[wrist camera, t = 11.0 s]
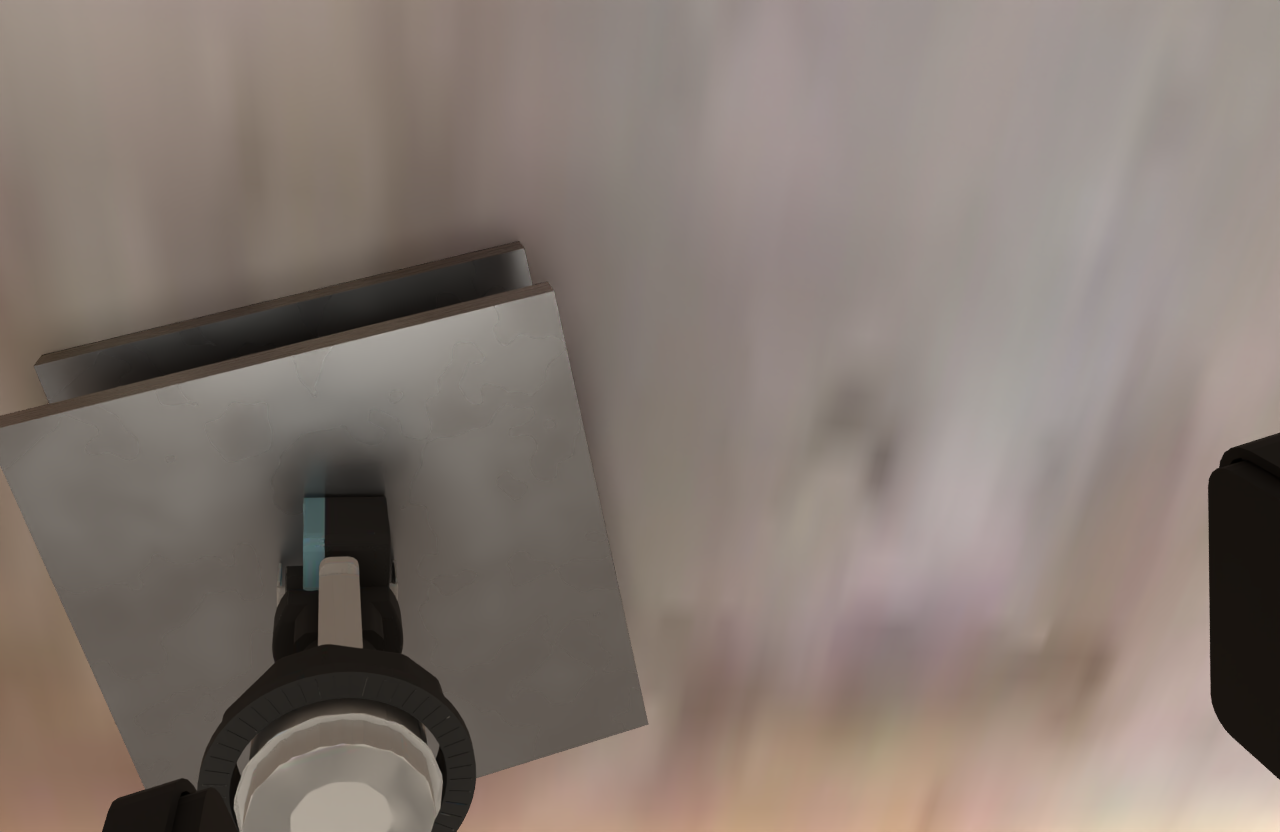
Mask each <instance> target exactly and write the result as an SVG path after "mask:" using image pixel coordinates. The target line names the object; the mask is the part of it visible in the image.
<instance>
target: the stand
mask: <svg viewBox="0 0 1280 832" xmlns="http://www.w3.org/2000/svg"><path fill="white" fill-rule="evenodd" d="M34 368H35V370H36V373H37V375H38V377H39V380H40V382H41V385H42V387H43V389H44V392H45V394H46V396H47V399H48V401H49V404H46V405H42V406H38V407H34V408H30V409H26V410H22V411H18V412H14V413H10V414H6V415H2V416H0V466H1V468H2V470H3V473H4V475H5V477H6V479H7V482H8V484H9V486H10V488H11V491H12V493H13V495H14V497H15V499H16V502H17V504H18V506H19V508H20V511H21V513H22V515H23V517H24V520H25V522H26V524H27V526H28V528H29V531H30V533H31V535H32V537H33V540H34V542H35V544H36V546H37V549H38V551H39V553H40V555H41V557H42V560H43V562H44V564H45V566H46V569H47V571H48V573H49V575H50V578H51V580H52V582H53V584H54V587H55V589H56V591H57V593H58V595H59V598H60V600H61V602H62V604H63V607H64V609H65V611H66V613H67V616H68V618H69V620H70V622H71V624H72V627H73V629H74V631H75V633H76V636H77V638H78V640H79V642H80V645H81V647H82V649H83V651H84V653H85V656H86V658H87V660H88V662H89V665H90V667H91V669H92V671H93V674H94V676H95V678H96V680H97V683H98V685H99V687H100V689H101V691H102V694H103V696H104V698H105V700H106V703H107V705H108V707H109V709H110V712H111V714H112V716H113V718H114V720H115V723H116V725H117V727H118V729H119V732H120V734H121V736H122V738H123V741H124V743H125V745H126V747H127V749H128V752H129V754H130V756H131V758H132V761H133V763H134V765H135V767H136V770H137V772H138V774H139V776H140V779H141V781H142V783H143V785H144V787H145V789H149V788H152V787H155V786H158V785H161V784H164V783H168V782H171V781H174V780H177V779H180V778H184V779H188V780H189V781H190V782H191V783H192V784H193V785H194V787H195V788H196V790H197V785H198V778H199V772H200V767H201V762H202V758H203V756H204V753H205V750H206V747H207V745H208V743H209V741H210V739H211V737H212V735H213V734H214V732H215V731H216V729H217V727H218V726H219V724H220V723H221V722H222V718H223V715H224V713H225V711H226V710H227V709H228V708H229V707H230V706H231V705H232V704H233V703H234V702H235V701H236V700H237V699H238V698H239V697H240V696H241V695H242V694H243V693H244V692H245V691H246V690H247V689H248V688H249V687H250V686H251V685H252V684H253V683H255V682H256V681H257V680H258V679H259V678H260V677H261V676H262V675H263V674H264V673H265V672H266V671H267V670H268V669H269V668H270V667H271V666H272V665H273V664H274V663H275V662H274V659H273V653H272V639H273V627H274V617H275V613H276V609H277V577H278V565H279V563H282V587H285V573H286V566H303V530H304V524H303V500H304V498H326V497H386V499H387V508H388V517H389V526H390V538H391V550H390V583H392V561H393V560H396V569H397V578H398V580H397V582H398V603H399V607H400V611H401V619H402V628H403V650H402V653H401V654H404V655H406V656H408V657H409V658H410V659H412V660H413V661H414V662H416V663H417V664H418V665H420V666H421V667H423V668H424V669H425V670H427V671H428V672H429V673H431V674H432V675H433V676H435V677H436V678H437V679H438V681H439V683H440V685H441V688H442V691H443V694H444V696H445V697H446V698H447V699H448V700H449V701H450V702H451V703H452V705H453V706H454V707H455V708H456V710H457V711H458V712H459V714H460V716H461V717H462V719H463V720H464V722H465V725H466V727H467V729H468V731H469V734H470V737H471V741H472V745H473V750H474V756H475V762H476V778H478V777H482V776H485V775H488V774H491V773H494V772H498V771H501V770H504V769H507V768H510V767H514V766H517V765H520V764H523V763H526V762H530V761H533V760H536V759H539V758H542V757H546V756H549V755H552V754H555V753H558V752H562V751H565V750H568V749H571V748H574V747H578V746H581V745H584V744H587V743H590V742H593V741H597V740H600V739H603V738H606V737H609V736H613V735H616V734H619V733H622V732H625V731H629V730H632V729H635V728H638V727H641V726H645V725H648V720H647V716H646V711H645V707H644V702H643V697H642V693H641V688H640V684H639V679H638V674H637V670H636V665H635V661H634V656H633V652H632V647H631V642H630V638H629V633H628V629H627V624H626V619H625V615H624V610H623V606H622V601H621V596H620V592H619V587H618V583H617V578H616V573H615V569H614V564H613V560H612V555H611V550H610V546H609V541H608V537H607V532H606V527H605V523H604V518H603V514H602V509H601V504H600V500H599V495H598V491H597V486H596V481H595V477H594V472H593V468H592V463H591V458H590V454H589V449H588V445H587V440H586V435H585V431H584V426H583V422H582V417H581V412H580V408H579V403H578V399H577V394H576V389H575V385H574V380H573V376H572V371H571V366H570V362H569V357H568V353H567V348H566V343H565V339H564V334H563V330H562V325H561V320H560V316H559V311H558V307H557V302H556V298H555V293H554V290H553V289H552V287H551V286H550V284H549V283H548V282H543V283H539V284H535V285H532V281H531V276H530V272H529V267H528V263H527V258H526V254H525V250H524V247H523V246H522V244H521V243H520V242H519V241H518V242H513V243H509V244H505V245H501V246H497V247H493V248H488V249H484V250H480V251H476V252H472V253H467V254H463V255H459V256H455V257H451V258H446V259H442V260H438V261H434V262H430V263H426V264H421V265H417V266H413V267H409V268H405V269H400V270H396V271H392V272H388V273H384V274H380V275H375V276H371V277H367V278H363V279H359V280H354V281H350V282H346V283H342V284H338V285H333V286H329V287H325V288H321V289H317V290H313V291H308V292H304V293H300V294H296V295H292V296H287V297H283V298H279V299H275V300H271V301H266V302H262V303H258V304H254V305H250V306H246V307H241V308H237V309H233V310H229V311H225V312H220V313H216V314H212V315H208V316H204V317H200V318H195V319H191V320H187V321H183V322H179V323H174V324H170V325H166V326H162V327H158V328H153V329H149V330H145V331H141V332H137V333H133V334H128V335H124V336H120V337H116V338H112V339H107V340H103V341H99V342H95V343H91V344H86V345H82V346H78V347H74V348H70V349H66V350H61V351H57V352H53V353H49V354H45V355H42V356H41V357H40V358H39V360H38V361H37V362H36V364H35V365H34ZM425 729H426V737H427V745H428V747H429V748H430V749H431V751H432V753H433V755H434V758H435V759H436V756H437V753H438V750H439V743H438V742H437V740H436V739H435V737H434V735H433V734H432V733H431V732H430V731H429V730H428V728H427V727H426V726H425ZM250 746H251V741H250V743H249V744H248V745H247V746H246V748H245V749H244V750H243V752H242V754H241V755H240V757H239V759H238V761H237V766H238V769H239V772H240V775H242V772H243V770H244V769H245V767H246V765H247V763H248V762H249V756H250Z"/></svg>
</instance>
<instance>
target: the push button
mask: <svg viewBox="0 0 1280 832" xmlns="http://www.w3.org/2000/svg"><path fill="white" fill-rule="evenodd" d="M303 524H304V530H303V566H286V573H285V587H282V563H279V565H278V577H277V609H276V613H275V617H274V627H273V639H272V653H273V659H274V662H275V663H274V664H273V665H272V666H271V667H270V668H269V669H268V670H267V671H266V672H265V673H264V674H263V675H262V676H261V677H260V678H259V679H258V680H257V681H256V682H255V683H253V684H252V685H251V686H250V687H249V688H248V689H247V690H246V691H245V692H244V693H243V694H242V695H241V696H240V697H239V698H238V699H237V700H236V701H235V702H234V703H233V704H232V705H231V706H230V707H229V708H228V709H227V710H226V711H225V713H224V715H223V718H222V722H221V723H220V724H219V726H218V727H217V729H216V731H215V732H214V734H213V735H212V737H211V739H210V741H209V743H208V745H207V747H206V750H205V753H204V756H203V758H202V762H201V767H200V772H199V778H198V785H197V791H200V790H203V789H206V788H209V787H212V788H215V789H216V790H217V791H218V792H219V793H220V795H221V797H222V799H223V800H224V803H225V805H226V807H227V809H228V811H229V813H230V815H231V817H232V820H233V822H234V824H235V826H236V828H237V830H238V832H457V830H458V829H459V827H460V825H461V824H462V822H463V820H464V818H465V816H466V814H467V812H468V810H469V807H470V804H471V802H472V799H473V794H474V790H475V783H476V762H475V756H474V750H473V745H472V741H471V737H470V734H469V731H468V729H467V727H466V725H465V722H464V720H463V719H462V717H461V716H460V714H459V712H458V711H457V710H456V708H455V707H454V706H453V705H452V703H451V702H450V701H449V700H448V699H447V698H446V697H445V696H444V694H443V691H442V688H441V685H440V683H439V681H438V679H437V678H436V677H435V676H433V675H432V674H431V673H429V672H428V671H427V670H425V669H424V668H423V667H421V666H420V665H418V664H417V663H416V662H414V661H413V660H412V659H410V658H409V657H408V656H406V655H404V654H401V653H402V650H403V628H402V619H401V611H400V607H399V603H398V582H397V580H398V578H397V569H396V560H393V561H392V583H390V550H391V538H390V526H389V517H388V508H387V499H386V497H326V498H304V500H303ZM425 726H426V727H427V728H428V730H429V731H430V732H431V733H432V734H433V735H434V737H435V739H436V740H437V742H438V743H439V750H438V753H437V756H436V759H435V758H434V755H433V753H432V751H431V749H430V748H429V747H428V745H427V737H426V729H425ZM250 741H251V746H250V756H249V762H248V763H247V765H246V767H245V769H244V770H243V772H242V775H240V772H239V769H238V766H237V761H238V759H239V757H240V755H241V754H242V752H243V750H244V749H245V748H246V746H247V745H248V744H249V743H250Z"/></svg>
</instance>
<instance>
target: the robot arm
mask: <svg viewBox="0 0 1280 832" xmlns="http://www.w3.org/2000/svg"><path fill="white" fill-rule="evenodd" d="M1208 509H1209V593H1210V677H1211V700H1212V705H1213V708H1214V711H1215V713H1216V715H1217V717H1218V719H1219V721H1220V723H1221V724H1222V726H1223V727H1224V729H1225V730H1226V731H1227V732H1228V733H1229V734H1230V735H1231V736H1232V737H1233V738H1234V739H1235V740H1236V741H1237V742H1238V743H1239V744H1241V745H1242V746H1243V747H1244V748H1245V749H1246V750H1247V751H1248V752H1249V753H1251V754H1252V755H1253V756H1254V757H1255V758H1256V759H1257V760H1258V761H1259V762H1261V763H1262V764H1263V765H1264V766H1265V767H1266V768H1267V769H1268V770H1269V771H1271V772H1272V773H1273V774H1274V775H1275V776H1276V777H1277V778H1278V779H1280V433H1277V434H1274V435H1271V436H1268V437H1265V438H1262V439H1258V440H1255V441H1252V442H1249V443H1246V444H1243V445H1239V446H1236V447H1233V448H1230V449H1229V450H1228V451H1226V452H1225V453H1224V455H1223V457H1222V459H1221V461H1220V466H1219V468H1218V469H1216V470H1215V471H1213V472H1212V474H1211V476H1210V478H1209V484H1208ZM102 832H238V830H237V828H236V826H235V824H234V822H233V820H232V817H231V815H230V813H229V811H228V809H227V807H226V805H225V803H224V800H223V799H222V797H221V795H220V793H219V792H218V791H217V790H216V789H215V788H212V787H209V788H206V789H203V790H200V791H197V790H196V788H195V787H194V785H193V784H192V783H191V782H190V781H189V780H188V779H184V778H180V779H177V780H174V781H171V782H168V783H164V784H161V785H158V786H155V787H152V788H149V789H145V790H142V791H139V792H136V793H133V794H129V795H126V796H123V797H120V798H118V799H116V800H115V801H113V802H112V804H111V806H110V808H109V811H108V814H107V817H106V820H105V824H104V827H103V830H102Z"/></svg>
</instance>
